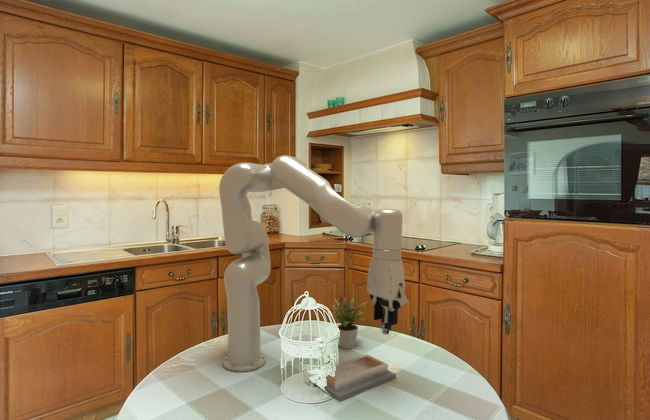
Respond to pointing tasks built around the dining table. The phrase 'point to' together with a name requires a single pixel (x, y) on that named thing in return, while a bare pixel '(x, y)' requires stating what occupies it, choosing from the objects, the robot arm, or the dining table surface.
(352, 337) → the house plant
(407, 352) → the dining table surface
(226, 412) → the dining table surface
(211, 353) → the dining table surface
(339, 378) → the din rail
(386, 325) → the round cylindrical fitting
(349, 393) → the panel
